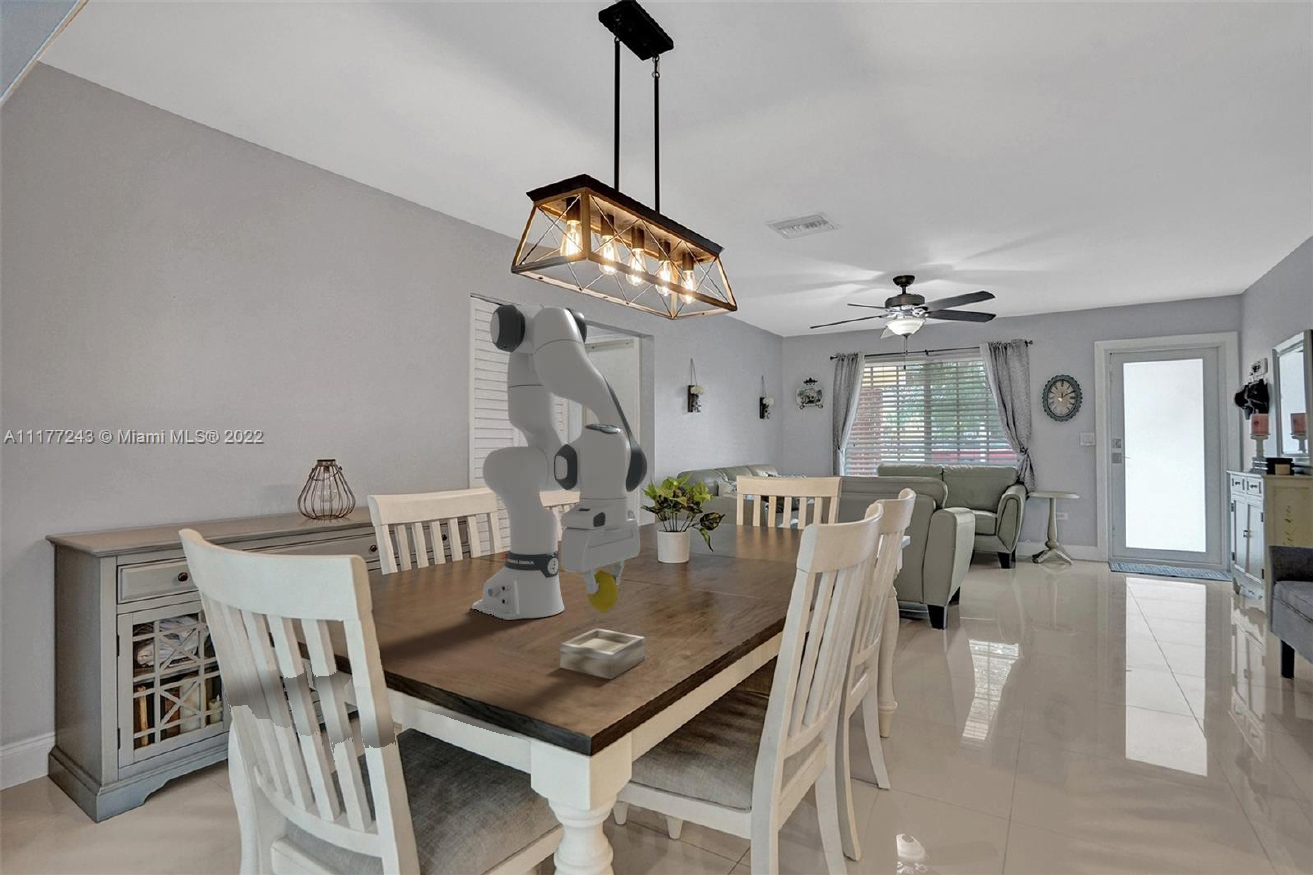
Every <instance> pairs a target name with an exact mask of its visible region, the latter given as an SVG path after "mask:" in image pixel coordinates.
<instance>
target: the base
mask: <svg viewBox="0 0 1313 875" xmlns="http://www.w3.org/2000/svg"><path fill="white" fill-rule="evenodd" d="M559 645H560V650H559V652H560V657H559V660H560V663H559V664H560V668H561V669H565V670H570V671H575V672H577V673H583V674H587V675H590V676H591V675H592V676H595V677H599V678H604V679H609V680H612V679H614V678H616V677H618V676H620V675H621V674H623V673H625V672H627V671H628V670H630V669H632V668H633V667H635V666H637V665H639V664H640V663H642V662H644V661H645V660H646V637H645V636H640V635H634V634H630V633H626V632H625V633H624V632H620V631H619V632H618V631H615V630H614V631H613V630H609V629H603V628H597V627H596V628H593V629H591V630H589V631H587V632H585V633H582V634H580V635H578V636H575V637H574V638H571V639H568V640H566V641H564V642H561V643H560V644H559Z"/></svg>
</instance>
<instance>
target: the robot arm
mask: <svg viewBox="0 0 1313 875" xmlns="http://www.w3.org/2000/svg"><path fill="white" fill-rule="evenodd" d="M587 327H588V326H587V320H586V318H585V316H584V315H583V313H581V312H580V311H578V310H576V309H573V308H570V307H565V308H564V307H561V306H551V305H545V304H544V305H543V304H539V305H536V304H535V305H531V304H530V305H529V304H527V305H525V304H524V305H522V304H521V305H514V304H513V303H512V304H503V305H500V306H498V307H497V308H496V309H495V310H494V311H493V313H492V316H491V319H490V323H489V333H490V336H491V340H492V343H493V344H494V346H495V347H496V349H498V350H500V351H504V352H507V353H509V356H508V362H507V363H508V364H507V374H506V389H507V390H506V391H507V392H506V393H507V414H508V416H507V417H508V420H509V423H510V424H511V425H512V426H513V428H515V429H517V430H518V431H520V432H521V433H522V434H523V437H524V438H525V441H526V443H527V446H525V445H524V446H519V445H518V446H507V447H503V448H499V449H495V450H492V451H490V452H489V454H487V456H486V458H485V460H484V461H483V465H482V477H483V480H484V483H485V485H486V486H487V488H489V490H491V491H492V492H494V493H495V495H497V497H498V498H499V499H500V500H501V502H502V503H503V506H504V508H505V510H506V512H507V513H506V514H507V516H508V522H509V524H508V525H509V540H510V541H509V544H510V546H509V547H510V548H509V549H510V550H509V551H508V552H506V553H501V556H503V557H501V560H504V559H505V562H504V564H503V565H504V566H503V567H502V568H501V569H499V570H498V571H497V572H496V573H495V574H494V575H492V576H491V577H489V579H487V580H486V581H485V583H484V585H483V588H482V595H481V596H482V597H481V599H478V600H477V601H475V602H474V603H473V604H471V605H472V606H471V609H472V610H474V609H477V610H479V611H478V612H481V611H482V612H481V613H483V614H488V615H490V614H492V615H491V616H493V615H494V616H493V617H496V618H499V619H502V618H503V619H502V620H506V621H508V620H509V621H511V620H519V619H537V618H538V619H539V618H544V617H549V616H550V617H551V616H554V615H557V614H560V613H561V612H564V610H565V605H564V601H563V598H562V592H561V587H560V586H561V585H560V578H559V571H560V570H559V569H560V564H561V567H562V569H563V570H564V572H565V573H571V574H581V577H582V579H583V581H584V583H585V592H586V594H587V593H588V594H595V593H597V592H598V591H599V583H597V582H596V581H595V577H594V575H595V574H596V573H597V571H596V570H597V569H598V568H599V569H600V568H602V567H606V566H611V567H612V568H611V573H610V575H612V576H613V578H614V579H615V581H616V584H617V586H619V585H621V576H622V573H623V570H624V568H625V561H626V560H629V559H632V558H635V557H638V556H639V554H640V551H641V540H640V539H641V538H640V529H639V523H638V521H637V519H636V514H635V513H634V512H633V510H632V509H631V508H629V499H628V498H629V494H628V493H631V492H633V491H635V489H637V488H638V487H639V486H640V485H641V484H642V483H643V481H644V480H645V478H646V475H647V473H648V460H647V458H646V455H645V452H644V451H643V450H642V447H641V446H640V444H639V443H638V441H637V440H636V438H635V436H634V434H633V431H632V430H631V428H630V424H629V423H628V420H627V418H626V416H625V414H624V411H623V409H622V406H621V404H620V402H619V400H618V397H617V395H616V393H615V391H614V389H613V386H612V385H611V383H610V381H609V379H608V378H607V377H605V375H603V374H601V373H600V372H599V371H598V369H597V368H596V367H595V365H593V362H592V361H591V359H590V358H589V356H588V353H587V351H586V347H585V344H586V341H587V334H588V328H587ZM555 396H558V397H559V398H563V399H566V400H569V401H572V402H574V403H577V404H580V405H582V406H584V407H585V408H587V409H589V410H590V411H591V412H592V413H594V414H595V416H596V417H597V420H598V422H599V423H590V424H587V425H584V426H583V427H582V429H581V432H580V435H579V437H578V438H576V439H574V440H573V441H571V442H569V443H568V442H567V441H566V439H565V438H564V436H563V434H562V431H561V429H560V426H559V422H558V418H557V410H556V408H557V407H556V398H555ZM561 490H564V491H568V492H574V493H576V492H578V493H579V498H578V501H579V502H578V503H577V504H575V505H574V506H573V507H572V508H570V509H568V510H567V511H566V512H565V513H564V514H562V515H561V517H560V524H561V525H560V526H561V527H563V528H564V529H563V530H562V533H561V540H560V549H558V544H559V542H558V541H559V540H558V534H559V533H558V532H559V531H558V529H559V527H558V519H557V516H556V514H554V512H552V511H551V510H549V509H547V508H546V507H545V506H544V505H543V503H542V500H541V492H543V493H544V492H554V491H555V492H557V491H561ZM477 610H476V611H477Z"/></svg>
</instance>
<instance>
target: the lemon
mask: <svg viewBox="0 0 1313 875" xmlns="http://www.w3.org/2000/svg"><path fill="white" fill-rule="evenodd" d="M594 577H595V581H596V582H597V583H599V591H598V592H597V593H595V594H588V593H587V592H586V594H587V599H588V601H589V604H590V606H591V607H592V608H593V609H595V610H596V611H600V612H601V613H602V614H607V613H608V611H610V609H612V608H613V607H614V606H615V605H616V603H617V601H618V595H619V589H618V585H617V584H616V581H615V579H614V578H613V576H612V575H611V573H609V572H606V571H604V570H602V569H600V570H598V571H597V572H596V574H595V575H594Z"/></svg>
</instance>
